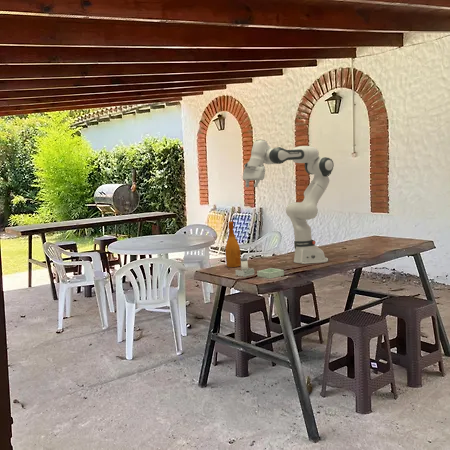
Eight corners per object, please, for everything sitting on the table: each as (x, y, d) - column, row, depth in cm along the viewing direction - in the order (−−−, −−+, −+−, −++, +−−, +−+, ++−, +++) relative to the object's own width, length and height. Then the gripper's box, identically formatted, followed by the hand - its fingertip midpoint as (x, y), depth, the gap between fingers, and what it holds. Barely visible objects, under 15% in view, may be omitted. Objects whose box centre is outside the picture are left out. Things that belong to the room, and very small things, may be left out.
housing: (246, 272, 313) (245, 267, 313) (254, 274, 307) (254, 268, 307) (235, 275, 309) (235, 269, 308) (244, 276, 302) (243, 271, 302)
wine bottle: (237, 268, 332) (233, 222, 329) (223, 267, 337) (220, 222, 334) (243, 265, 340) (240, 220, 337) (230, 264, 345) (227, 220, 342)
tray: (271, 273, 308) (271, 267, 307) (284, 275, 299) (283, 269, 298) (257, 276, 301) (257, 271, 301) (269, 278, 292) (269, 273, 292)
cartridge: (248, 274, 309) (247, 257, 308) (247, 275, 306) (246, 259, 305) (242, 274, 310) (241, 258, 309) (241, 275, 306) (240, 259, 305)
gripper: (269, 165, 307) (264, 188, 307) (251, 167, 325) (246, 188, 325) (260, 163, 304) (256, 185, 304) (243, 164, 322) (238, 186, 321)
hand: (251, 187), depth 314 cm, fingers open, 8 cm apart
